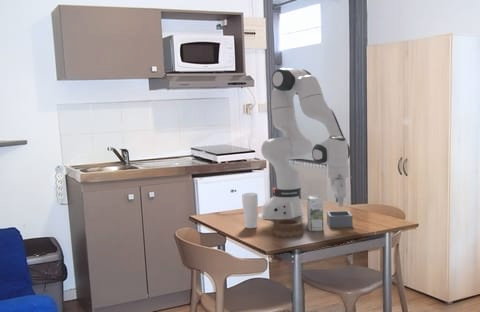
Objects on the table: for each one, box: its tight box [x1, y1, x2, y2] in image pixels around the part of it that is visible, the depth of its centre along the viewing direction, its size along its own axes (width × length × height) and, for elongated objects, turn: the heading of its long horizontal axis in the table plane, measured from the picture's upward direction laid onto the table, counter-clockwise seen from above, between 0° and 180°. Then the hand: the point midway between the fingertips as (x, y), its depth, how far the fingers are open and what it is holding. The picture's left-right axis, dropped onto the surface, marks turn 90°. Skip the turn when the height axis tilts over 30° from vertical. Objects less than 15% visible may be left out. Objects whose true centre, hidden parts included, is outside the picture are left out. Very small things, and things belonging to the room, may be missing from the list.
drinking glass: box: [241, 192, 259, 229], centre depth 225 cm, size 7×7×15 cm
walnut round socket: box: [273, 218, 304, 239], centre depth 211 cm, size 12×12×5 cm
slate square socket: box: [326, 210, 354, 229], centre depth 223 cm, size 10×10×5 cm
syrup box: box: [306, 195, 324, 233], centre depth 215 cm, size 6×6×14 cm
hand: (339, 204), depth 222 cm, fingers open, 8 cm apart
